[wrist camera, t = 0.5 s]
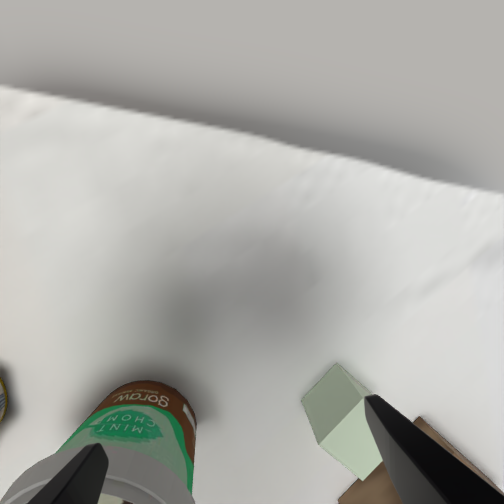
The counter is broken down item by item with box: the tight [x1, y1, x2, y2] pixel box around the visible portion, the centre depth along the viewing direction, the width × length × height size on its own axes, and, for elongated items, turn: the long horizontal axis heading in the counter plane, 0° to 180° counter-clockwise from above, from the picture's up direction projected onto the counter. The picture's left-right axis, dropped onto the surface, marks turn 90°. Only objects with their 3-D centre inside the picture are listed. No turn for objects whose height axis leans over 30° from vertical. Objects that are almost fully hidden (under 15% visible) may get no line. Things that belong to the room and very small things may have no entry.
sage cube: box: [301, 363, 383, 481], centre depth 22 cm, size 5×5×5 cm
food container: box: [0, 380, 197, 504], centre depth 18 cm, size 12×6×10 cm, turn 94°
